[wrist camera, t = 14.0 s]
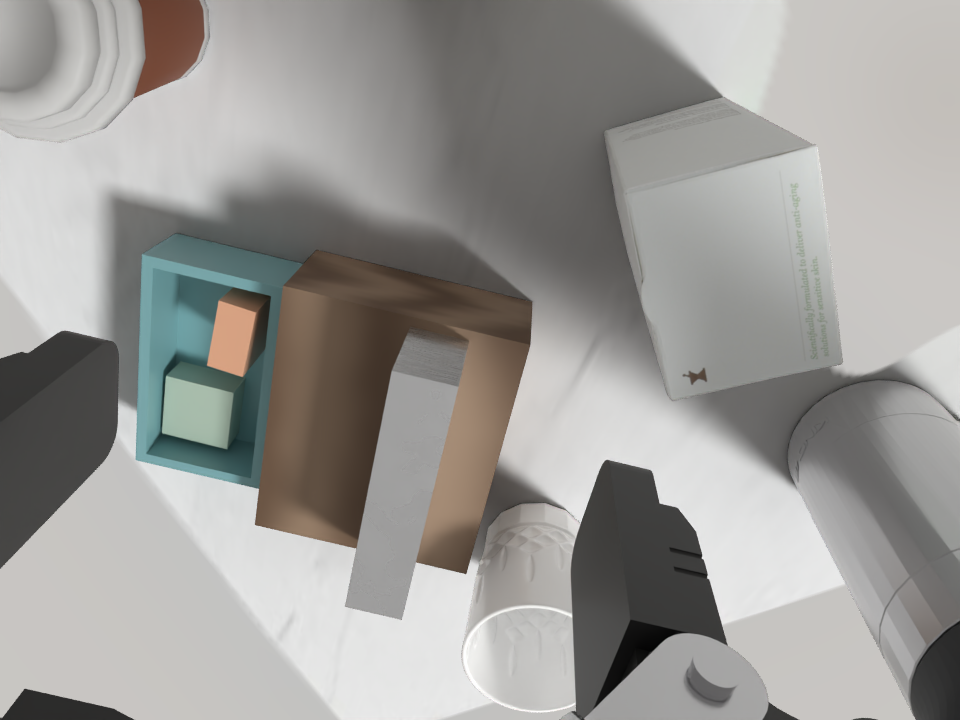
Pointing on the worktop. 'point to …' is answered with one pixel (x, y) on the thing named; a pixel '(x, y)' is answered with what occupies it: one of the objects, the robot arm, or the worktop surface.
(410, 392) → the steel bar
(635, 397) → the worktop surface
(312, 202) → the worktop surface
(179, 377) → the sage tile
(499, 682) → the white cup
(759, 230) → the skincare box
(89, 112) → the coffee cup
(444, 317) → the brown wooden box
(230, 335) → the terracotta tile
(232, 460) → the teal box
